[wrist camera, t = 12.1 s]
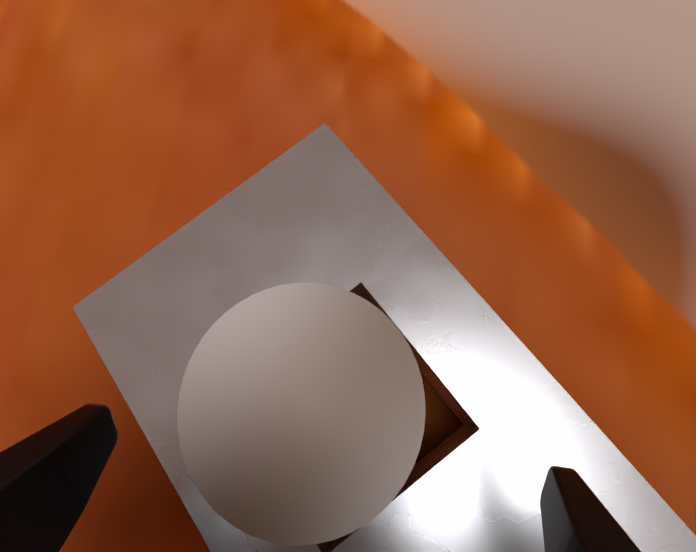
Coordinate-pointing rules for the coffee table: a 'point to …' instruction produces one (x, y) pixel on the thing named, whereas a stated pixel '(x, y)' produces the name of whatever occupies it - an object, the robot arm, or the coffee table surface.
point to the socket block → (417, 328)
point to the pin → (301, 413)
